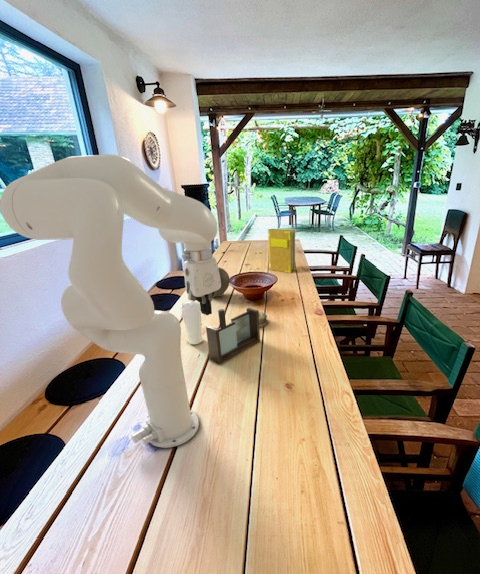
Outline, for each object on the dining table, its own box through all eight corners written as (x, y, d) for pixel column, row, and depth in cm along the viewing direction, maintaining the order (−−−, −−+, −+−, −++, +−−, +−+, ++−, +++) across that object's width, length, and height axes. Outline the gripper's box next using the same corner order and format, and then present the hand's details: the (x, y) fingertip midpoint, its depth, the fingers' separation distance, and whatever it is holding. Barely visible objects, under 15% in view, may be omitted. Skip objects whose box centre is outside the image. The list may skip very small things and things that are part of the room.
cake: (271, 321, 137) (272, 309, 135) (260, 331, 129) (260, 319, 127) (251, 315, 141) (251, 304, 138) (239, 325, 133) (239, 313, 131)
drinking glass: (200, 346, 118) (195, 308, 112) (183, 345, 119) (177, 308, 113) (207, 338, 124) (202, 301, 118) (190, 337, 125) (185, 301, 119)
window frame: (219, 364, 106) (215, 330, 101) (209, 359, 109) (205, 326, 104) (260, 341, 120) (258, 310, 115) (250, 337, 123) (248, 307, 118)
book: (295, 270, 205) (295, 229, 195) (290, 272, 200) (290, 231, 190) (272, 267, 214) (271, 228, 203) (267, 269, 209) (265, 230, 198)
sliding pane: (220, 358, 107) (215, 314, 100) (216, 356, 108) (211, 312, 102) (238, 348, 113) (235, 306, 106) (234, 347, 114) (231, 304, 107)
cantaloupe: (218, 302, 158) (215, 273, 152) (197, 298, 165) (193, 269, 159) (235, 293, 169) (233, 265, 163) (215, 290, 176) (212, 263, 170)
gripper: (185, 262, 84) (194, 325, 92) (227, 250, 94) (232, 308, 102) (168, 258, 89) (179, 318, 96) (210, 247, 99) (217, 303, 106)
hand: (206, 313), depth 99 cm, fingers closed
